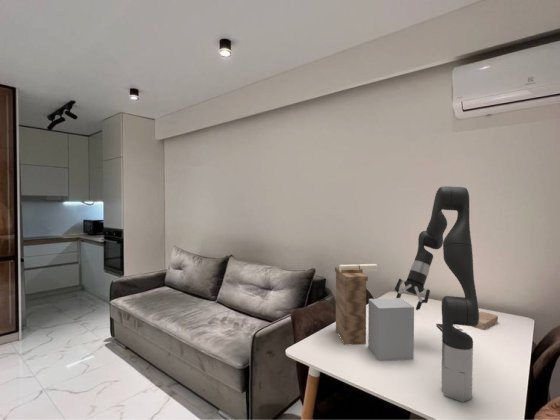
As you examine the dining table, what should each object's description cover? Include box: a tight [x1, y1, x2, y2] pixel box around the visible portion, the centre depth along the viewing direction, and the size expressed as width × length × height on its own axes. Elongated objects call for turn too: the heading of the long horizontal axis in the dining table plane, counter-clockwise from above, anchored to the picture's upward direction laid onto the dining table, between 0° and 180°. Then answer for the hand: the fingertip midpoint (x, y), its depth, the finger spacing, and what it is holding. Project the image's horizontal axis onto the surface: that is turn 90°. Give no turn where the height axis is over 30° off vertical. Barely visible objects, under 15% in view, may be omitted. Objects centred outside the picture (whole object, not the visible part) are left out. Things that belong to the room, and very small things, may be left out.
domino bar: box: [338, 263, 379, 273], centre depth 150 cm, size 18×3×3 cm, turn 94°
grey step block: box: [367, 297, 415, 362], centre depth 135 cm, size 15×12×22 cm
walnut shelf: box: [334, 266, 369, 345], centre depth 151 cm, size 10×20×34 cm, turn 4°
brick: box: [471, 311, 499, 331], centre depth 166 cm, size 16×8×5 cm, turn 124°
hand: (406, 305), depth 140 cm, fingers open, 8 cm apart
